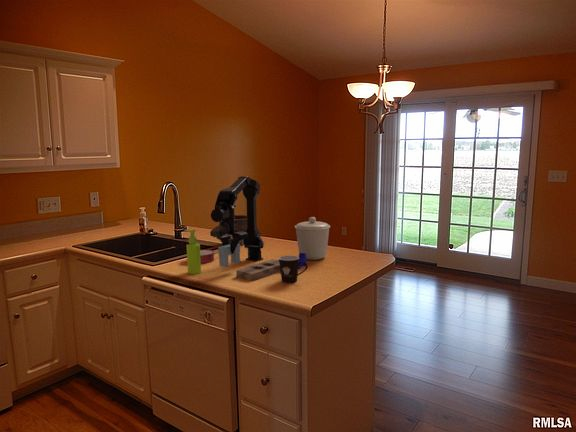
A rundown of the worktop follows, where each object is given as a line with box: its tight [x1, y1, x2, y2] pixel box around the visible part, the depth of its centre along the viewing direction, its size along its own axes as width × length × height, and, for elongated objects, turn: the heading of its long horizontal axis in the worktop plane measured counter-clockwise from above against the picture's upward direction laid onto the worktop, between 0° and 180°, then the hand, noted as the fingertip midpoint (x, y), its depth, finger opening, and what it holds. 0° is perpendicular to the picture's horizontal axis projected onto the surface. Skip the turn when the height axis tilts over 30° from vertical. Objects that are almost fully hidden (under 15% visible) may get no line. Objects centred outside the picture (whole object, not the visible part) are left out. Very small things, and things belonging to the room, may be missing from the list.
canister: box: [294, 216, 331, 261], centre depth 221 cm, size 18×18×21 cm
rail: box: [235, 258, 281, 282], centre depth 197 cm, size 10×24×3 cm, turn 141°
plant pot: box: [229, 214, 247, 246], centre depth 258 cm, size 16×16×16 cm
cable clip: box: [298, 252, 307, 271], centre depth 204 cm, size 12×4×6 cm, turn 140°
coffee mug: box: [278, 255, 308, 284], centre depth 182 cm, size 12×9×10 cm
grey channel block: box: [217, 244, 241, 268], centre depth 195 cm, size 3×10×8 cm, turn 141°
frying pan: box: [200, 241, 242, 265], centre depth 227 cm, size 32×13×6 cm, turn 140°
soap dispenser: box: [182, 228, 202, 275], centre depth 197 cm, size 6×7×20 cm
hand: (229, 253), depth 195 cm, fingers closed on grey channel block, 3 cm apart
